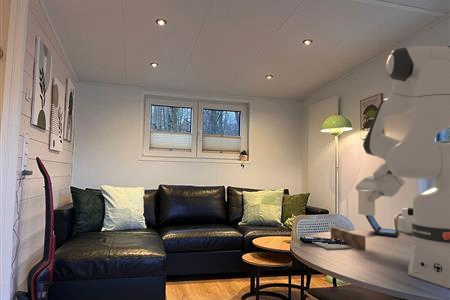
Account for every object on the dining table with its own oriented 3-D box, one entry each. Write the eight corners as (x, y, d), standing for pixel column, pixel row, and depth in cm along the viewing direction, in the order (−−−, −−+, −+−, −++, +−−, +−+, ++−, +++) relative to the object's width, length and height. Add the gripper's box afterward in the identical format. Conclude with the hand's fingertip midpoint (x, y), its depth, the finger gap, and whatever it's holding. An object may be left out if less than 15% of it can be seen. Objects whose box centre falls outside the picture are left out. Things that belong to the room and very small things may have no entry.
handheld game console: (396, 238, 143) (396, 217, 143) (365, 234, 150) (365, 215, 150) (399, 232, 156) (399, 214, 156) (369, 229, 163) (369, 211, 164)
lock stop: (375, 215, 128) (375, 190, 129) (365, 215, 127) (365, 190, 128) (367, 213, 132) (367, 190, 133) (358, 213, 131) (358, 189, 132)
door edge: (365, 249, 120) (365, 236, 120) (360, 249, 119) (360, 236, 119) (334, 238, 139) (334, 226, 139) (330, 238, 139) (330, 226, 139)
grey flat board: (350, 248, 120) (350, 246, 120) (327, 250, 118) (327, 247, 118) (332, 241, 132) (332, 238, 132) (311, 242, 130) (311, 239, 130)
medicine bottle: (412, 230, 161) (412, 207, 161) (420, 233, 153) (419, 209, 154) (398, 230, 161) (397, 206, 162) (404, 233, 154) (404, 208, 155)
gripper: (363, 171, 143) (345, 192, 140) (399, 172, 123) (378, 197, 120) (372, 181, 143) (353, 202, 140) (408, 183, 124) (388, 208, 121)
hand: (365, 200), depth 130 cm, fingers closed on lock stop, 4 cm apart
